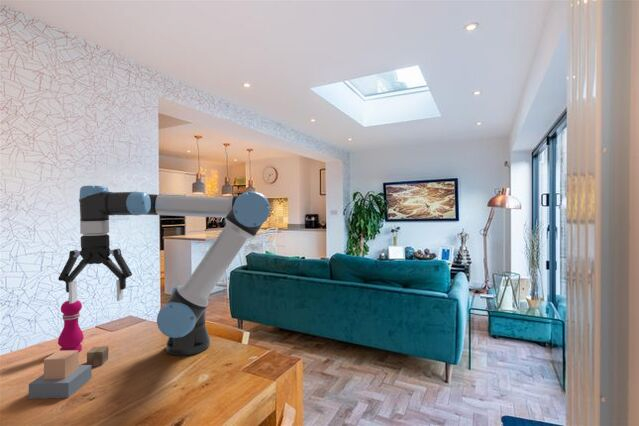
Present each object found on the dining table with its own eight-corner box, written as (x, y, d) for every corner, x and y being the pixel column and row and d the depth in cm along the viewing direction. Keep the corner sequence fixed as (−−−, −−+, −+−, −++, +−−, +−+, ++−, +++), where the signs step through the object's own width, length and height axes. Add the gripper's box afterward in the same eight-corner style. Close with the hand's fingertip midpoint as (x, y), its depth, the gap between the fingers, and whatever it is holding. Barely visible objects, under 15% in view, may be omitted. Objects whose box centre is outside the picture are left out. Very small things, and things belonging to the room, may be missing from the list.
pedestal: (91, 378, 96) (91, 364, 96) (68, 397, 86) (68, 382, 86) (55, 379, 95) (56, 365, 95) (28, 398, 85) (28, 383, 85)
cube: (78, 368, 94) (78, 350, 94) (64, 378, 88) (65, 358, 88) (58, 369, 93) (58, 350, 93) (43, 379, 88) (43, 359, 88)
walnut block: (93, 360, 108) (108, 359, 109) (86, 366, 103) (102, 365, 104) (93, 346, 108) (108, 346, 109) (86, 352, 103) (102, 351, 104)
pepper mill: (55, 357, 109) (55, 299, 109) (60, 349, 115) (61, 294, 115) (81, 353, 112) (82, 297, 112) (85, 345, 118) (85, 292, 118)
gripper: (142, 232, 107) (143, 295, 107) (59, 234, 103) (60, 300, 103) (132, 234, 99) (134, 301, 100) (42, 236, 95) (44, 307, 96)
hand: (96, 301), depth 101 cm, fingers open, 13 cm apart
